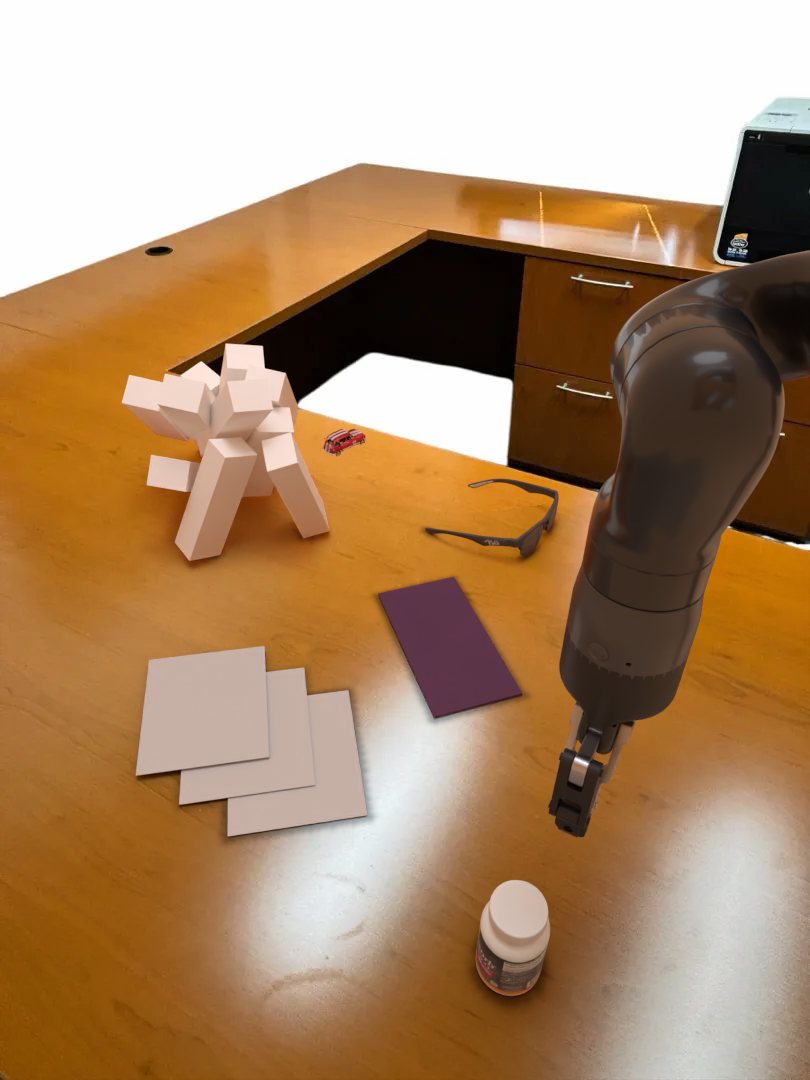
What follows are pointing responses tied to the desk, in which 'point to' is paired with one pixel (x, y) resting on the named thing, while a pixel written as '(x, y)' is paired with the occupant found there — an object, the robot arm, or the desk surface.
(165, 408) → the pile of blocks
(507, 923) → the pill bottle
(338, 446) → the toy car
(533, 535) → the sunglasses
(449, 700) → the cloth
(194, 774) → the paper stack
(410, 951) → the desk surface
